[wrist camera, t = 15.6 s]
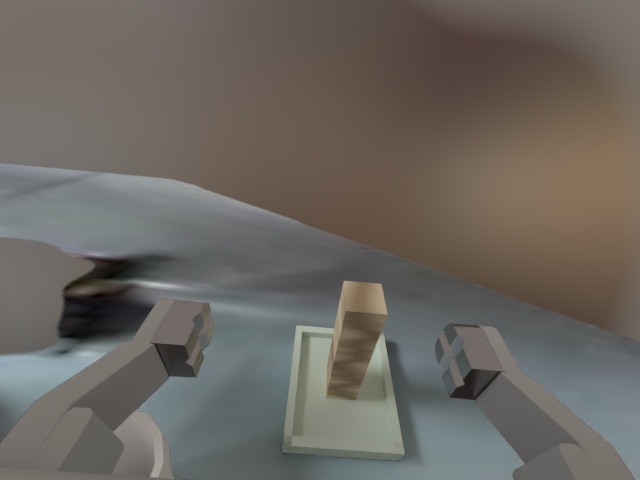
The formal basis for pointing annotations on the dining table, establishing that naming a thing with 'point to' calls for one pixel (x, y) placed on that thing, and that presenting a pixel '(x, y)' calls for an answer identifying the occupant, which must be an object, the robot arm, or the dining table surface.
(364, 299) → the tan wooden block
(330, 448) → the tray
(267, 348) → the dining table surface
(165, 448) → the foam cup
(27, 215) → the dining table surface
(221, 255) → the dining table surface
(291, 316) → the dining table surface
